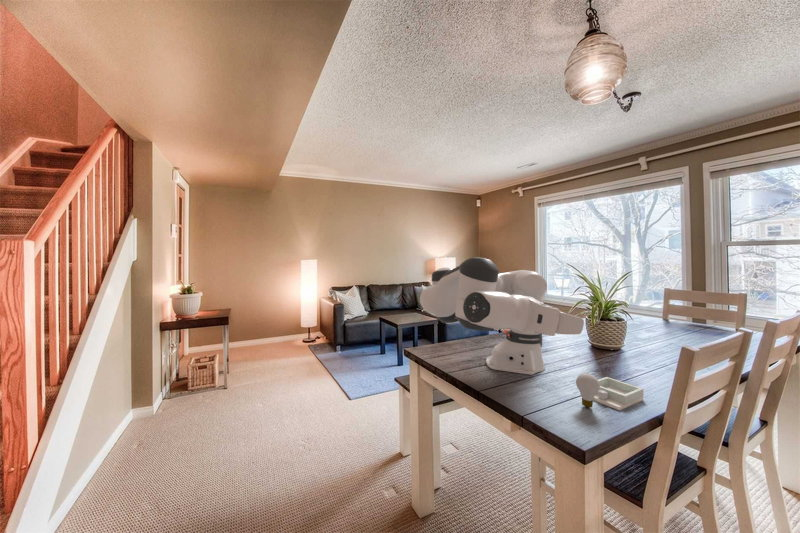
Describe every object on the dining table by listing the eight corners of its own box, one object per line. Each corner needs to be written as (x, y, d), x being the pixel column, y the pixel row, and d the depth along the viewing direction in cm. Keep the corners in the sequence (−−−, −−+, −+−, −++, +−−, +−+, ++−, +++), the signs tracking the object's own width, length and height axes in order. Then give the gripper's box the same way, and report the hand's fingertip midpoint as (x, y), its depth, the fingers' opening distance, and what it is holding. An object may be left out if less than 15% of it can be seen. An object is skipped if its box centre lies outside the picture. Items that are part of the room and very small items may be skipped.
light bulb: (571, 403, 91) (571, 370, 90) (589, 402, 91) (590, 370, 91) (584, 413, 85) (585, 378, 84) (604, 412, 85) (605, 377, 85)
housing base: (619, 410, 86) (619, 398, 86) (582, 395, 96) (582, 384, 96) (643, 400, 93) (643, 388, 93) (606, 386, 102) (606, 376, 102)
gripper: (491, 315, 84) (525, 319, 90) (556, 338, 66) (594, 341, 72) (495, 293, 84) (529, 299, 90) (562, 310, 65) (599, 315, 72)
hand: (559, 317), depth 81 cm, fingers open, 8 cm apart
